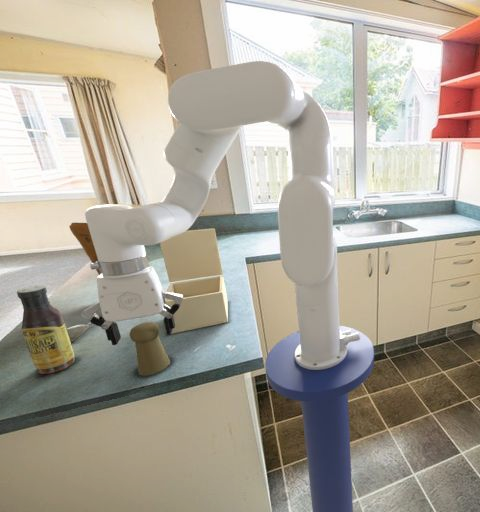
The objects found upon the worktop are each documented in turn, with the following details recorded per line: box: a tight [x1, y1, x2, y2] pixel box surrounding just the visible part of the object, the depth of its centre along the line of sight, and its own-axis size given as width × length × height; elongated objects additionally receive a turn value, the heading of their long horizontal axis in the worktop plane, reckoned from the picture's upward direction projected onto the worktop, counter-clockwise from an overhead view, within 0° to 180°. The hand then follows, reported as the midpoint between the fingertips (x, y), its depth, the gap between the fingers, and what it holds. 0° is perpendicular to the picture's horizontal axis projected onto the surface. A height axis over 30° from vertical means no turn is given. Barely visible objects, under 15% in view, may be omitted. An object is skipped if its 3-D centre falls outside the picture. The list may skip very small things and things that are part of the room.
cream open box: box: [165, 275, 229, 335], centre depth 90 cm, size 15×15×10 cm
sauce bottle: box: [16, 284, 76, 375], centre depth 66 cm, size 6×6×20 cm
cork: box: [129, 321, 171, 377], centre depth 67 cm, size 6×6×11 cm
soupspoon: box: [66, 322, 93, 343], centre depth 86 cm, size 22×3×7 cm
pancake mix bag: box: [68, 222, 101, 275], centre depth 96 cm, size 7×19×28 cm, turn 77°
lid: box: [159, 227, 224, 283], centre depth 94 cm, size 15×15×5 cm
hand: (144, 336), depth 66 cm, fingers open, 9 cm apart
